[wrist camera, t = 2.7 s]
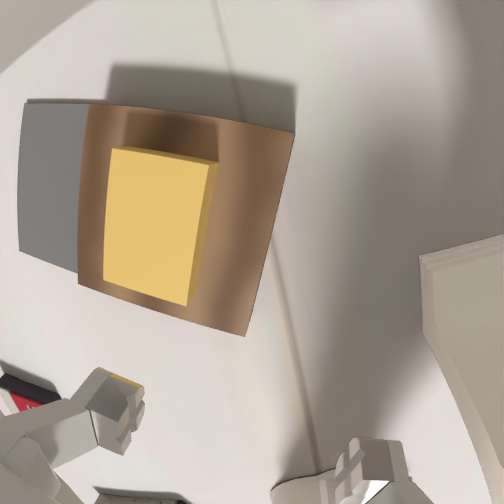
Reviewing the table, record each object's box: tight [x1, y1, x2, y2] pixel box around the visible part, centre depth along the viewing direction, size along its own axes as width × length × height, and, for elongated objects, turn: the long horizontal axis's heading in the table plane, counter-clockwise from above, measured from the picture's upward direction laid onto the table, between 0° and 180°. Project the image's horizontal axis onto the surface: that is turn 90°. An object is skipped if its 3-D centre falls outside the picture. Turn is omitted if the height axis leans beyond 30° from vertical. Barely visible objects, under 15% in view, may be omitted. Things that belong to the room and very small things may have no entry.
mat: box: [17, 103, 89, 273], centre depth 28 cm, size 12×17×1 cm
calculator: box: [0, 373, 61, 414], centre depth 41 cm, size 11×4×15 cm
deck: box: [77, 104, 295, 337], centre depth 25 cm, size 16×16×4 cm
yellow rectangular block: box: [103, 146, 219, 306], centre depth 22 cm, size 7×10×2 cm
